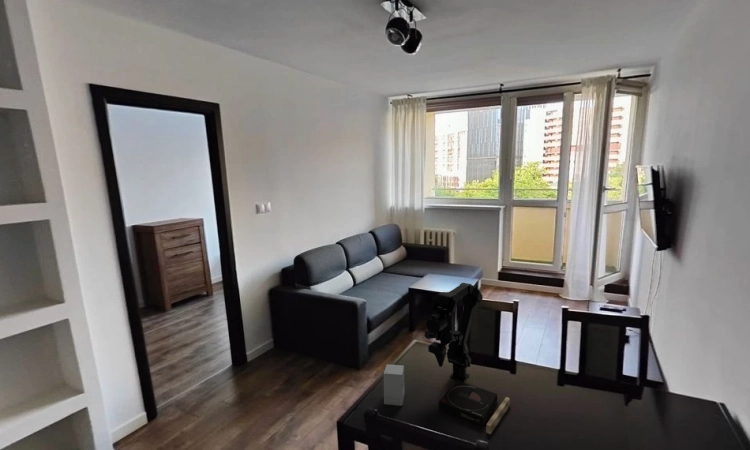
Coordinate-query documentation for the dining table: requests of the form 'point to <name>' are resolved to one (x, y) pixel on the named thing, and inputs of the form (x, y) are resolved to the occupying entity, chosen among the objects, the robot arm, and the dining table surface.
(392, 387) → the supplement box
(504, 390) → the dining table surface
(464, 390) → the portable cd player
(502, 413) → the oak rail
